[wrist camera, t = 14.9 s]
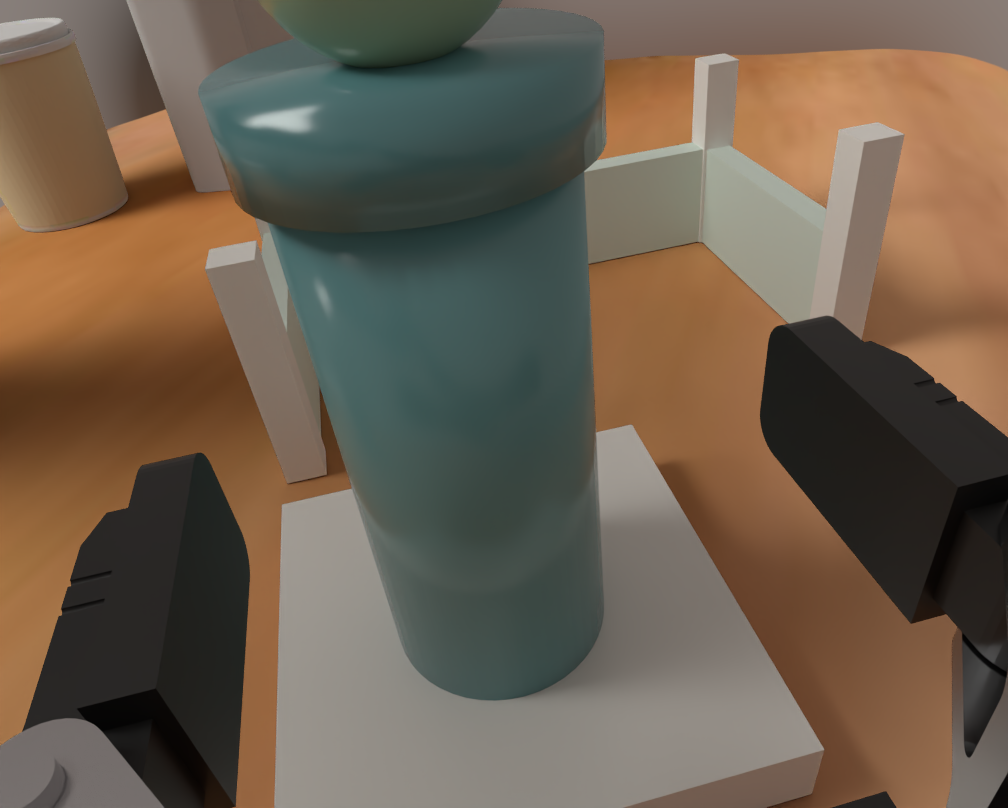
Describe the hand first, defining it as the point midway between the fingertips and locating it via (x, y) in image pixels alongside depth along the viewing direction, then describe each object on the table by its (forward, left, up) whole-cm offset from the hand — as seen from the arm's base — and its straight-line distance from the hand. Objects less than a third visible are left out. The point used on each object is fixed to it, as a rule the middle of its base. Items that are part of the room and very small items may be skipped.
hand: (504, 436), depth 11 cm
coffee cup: (-55, +6, -12) cm, 57 cm away
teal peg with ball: (-4, +2, -10) cm, 11 cm away
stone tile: (-4, +2, -12) cm, 13 cm away
